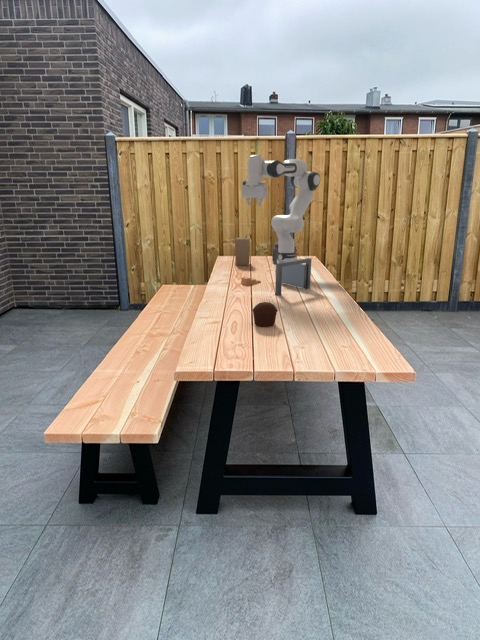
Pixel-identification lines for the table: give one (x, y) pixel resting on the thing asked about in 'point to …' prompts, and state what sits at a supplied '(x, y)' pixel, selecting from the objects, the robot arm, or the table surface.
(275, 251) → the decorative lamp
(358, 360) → the table surface
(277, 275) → the door frame
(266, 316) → the muffin
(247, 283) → the orange stepped block
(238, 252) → the wooden block
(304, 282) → the door
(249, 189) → the robot arm
